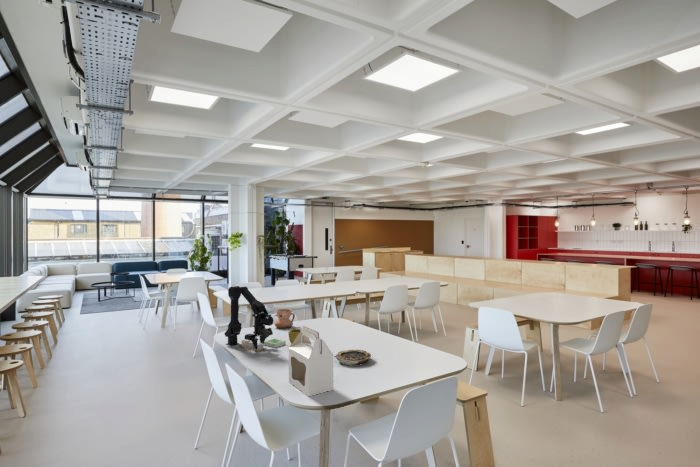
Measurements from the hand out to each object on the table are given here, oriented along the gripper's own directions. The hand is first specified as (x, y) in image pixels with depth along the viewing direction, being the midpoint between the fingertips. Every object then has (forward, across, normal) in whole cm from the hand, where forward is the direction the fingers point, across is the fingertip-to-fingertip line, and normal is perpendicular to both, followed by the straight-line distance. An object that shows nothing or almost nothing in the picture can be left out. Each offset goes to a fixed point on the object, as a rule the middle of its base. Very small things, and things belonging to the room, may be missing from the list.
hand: (258, 348), depth 252 cm
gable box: (+2, -25, -68) cm, 73 cm away
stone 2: (+1, 0, 0) cm, 1 cm away
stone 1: (+1, 0, +13) cm, 13 cm away
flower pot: (+2, +26, -8) cm, 27 cm away
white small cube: (+1, 0, +6) cm, 7 cm away
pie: (+2, +18, -62) cm, 64 cm away
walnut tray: (+2, 0, +6) cm, 7 cm away
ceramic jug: (+2, +56, +34) cm, 65 cm away
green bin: (+2, +14, +1) cm, 14 cm away
